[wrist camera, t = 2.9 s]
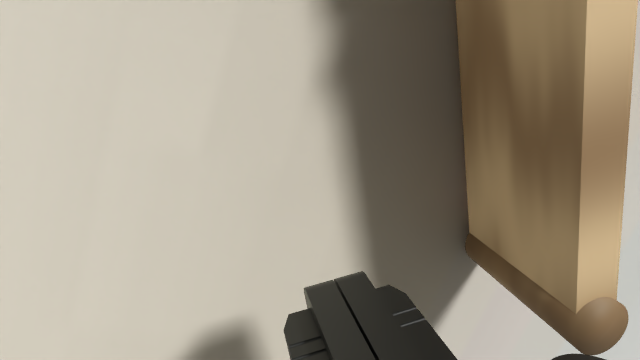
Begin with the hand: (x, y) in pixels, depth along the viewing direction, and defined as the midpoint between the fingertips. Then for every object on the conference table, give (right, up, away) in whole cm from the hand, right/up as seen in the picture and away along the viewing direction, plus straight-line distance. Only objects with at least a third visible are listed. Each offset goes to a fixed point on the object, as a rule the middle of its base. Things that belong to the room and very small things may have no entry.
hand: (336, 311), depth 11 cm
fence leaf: (+5, +6, +3) cm, 8 cm away
